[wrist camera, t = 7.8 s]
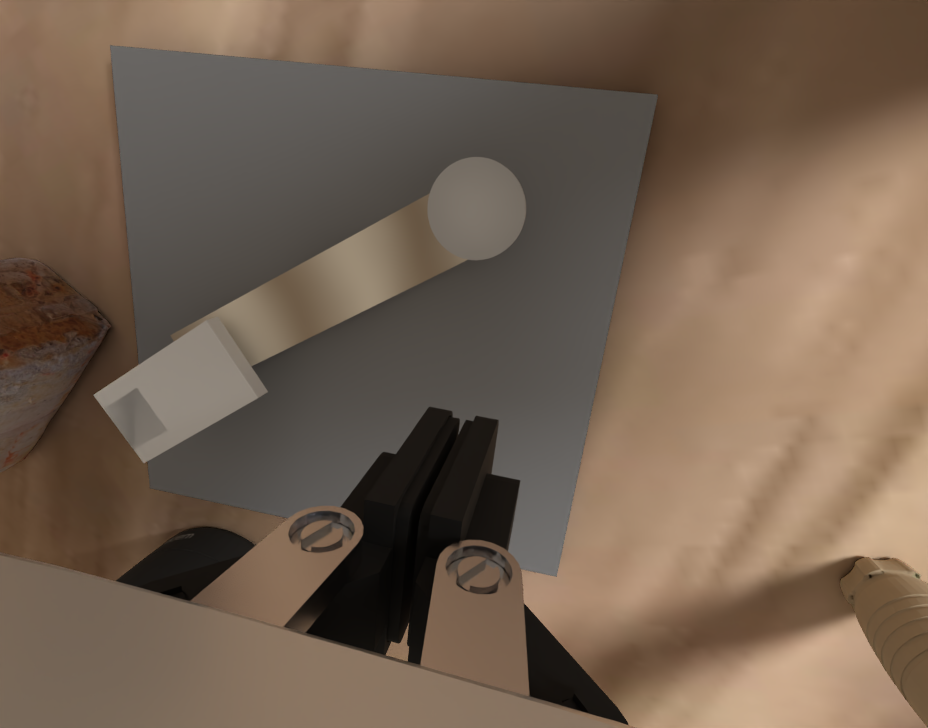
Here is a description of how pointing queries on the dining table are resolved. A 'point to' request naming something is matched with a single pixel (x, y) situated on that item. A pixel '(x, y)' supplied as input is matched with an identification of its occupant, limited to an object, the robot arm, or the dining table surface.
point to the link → (335, 284)
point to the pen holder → (187, 554)
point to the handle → (894, 622)
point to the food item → (39, 351)
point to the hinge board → (392, 321)
